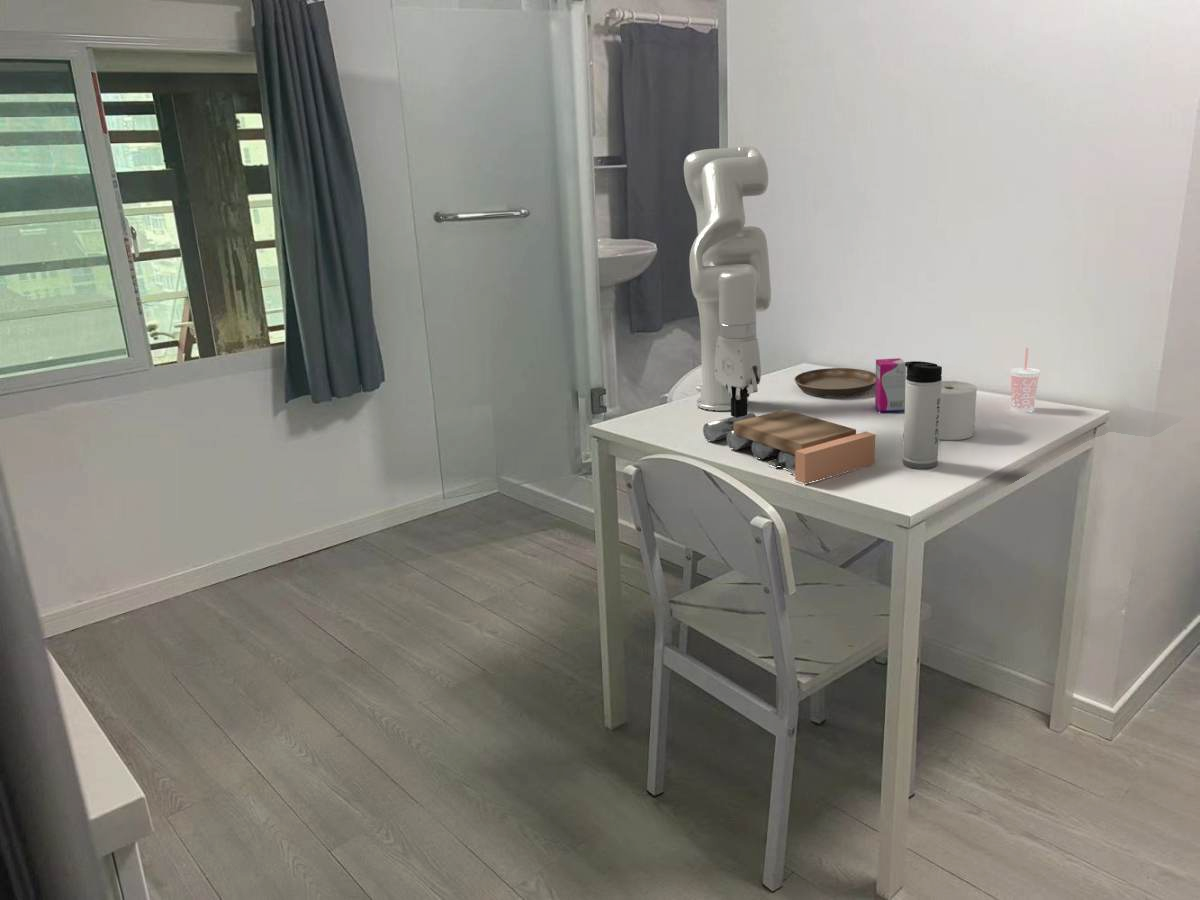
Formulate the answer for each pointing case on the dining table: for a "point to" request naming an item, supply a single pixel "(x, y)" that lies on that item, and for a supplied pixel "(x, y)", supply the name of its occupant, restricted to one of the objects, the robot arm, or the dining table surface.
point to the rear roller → (722, 427)
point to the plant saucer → (836, 382)
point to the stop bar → (835, 457)
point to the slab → (790, 430)
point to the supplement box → (890, 385)
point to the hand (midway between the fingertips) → (739, 415)
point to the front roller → (764, 450)
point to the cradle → (776, 463)
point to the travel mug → (922, 414)
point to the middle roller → (737, 441)
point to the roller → (786, 459)
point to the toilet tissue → (957, 410)
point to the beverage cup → (1024, 387)
